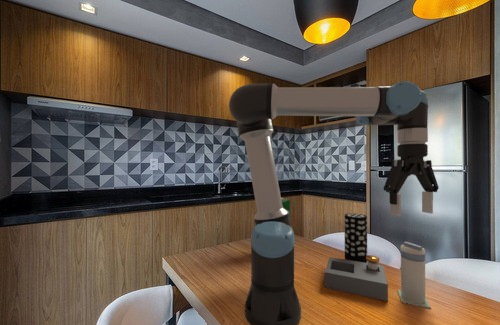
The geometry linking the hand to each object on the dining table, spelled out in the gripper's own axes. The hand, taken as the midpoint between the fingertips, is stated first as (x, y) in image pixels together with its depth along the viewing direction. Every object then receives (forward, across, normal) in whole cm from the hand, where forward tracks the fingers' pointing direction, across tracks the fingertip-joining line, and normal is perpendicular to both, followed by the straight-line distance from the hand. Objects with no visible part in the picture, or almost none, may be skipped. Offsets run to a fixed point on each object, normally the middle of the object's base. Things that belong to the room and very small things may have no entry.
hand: (411, 214), depth 70 cm
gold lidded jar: (+23, +3, -11) cm, 26 cm away
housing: (+26, +9, -13) cm, 30 cm away
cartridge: (+25, 0, 0) cm, 25 cm away
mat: (+26, 0, 0) cm, 26 cm away
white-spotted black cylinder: (+26, -2, -24) cm, 35 cm away
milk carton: (+26, +23, -46) cm, 58 cm away
